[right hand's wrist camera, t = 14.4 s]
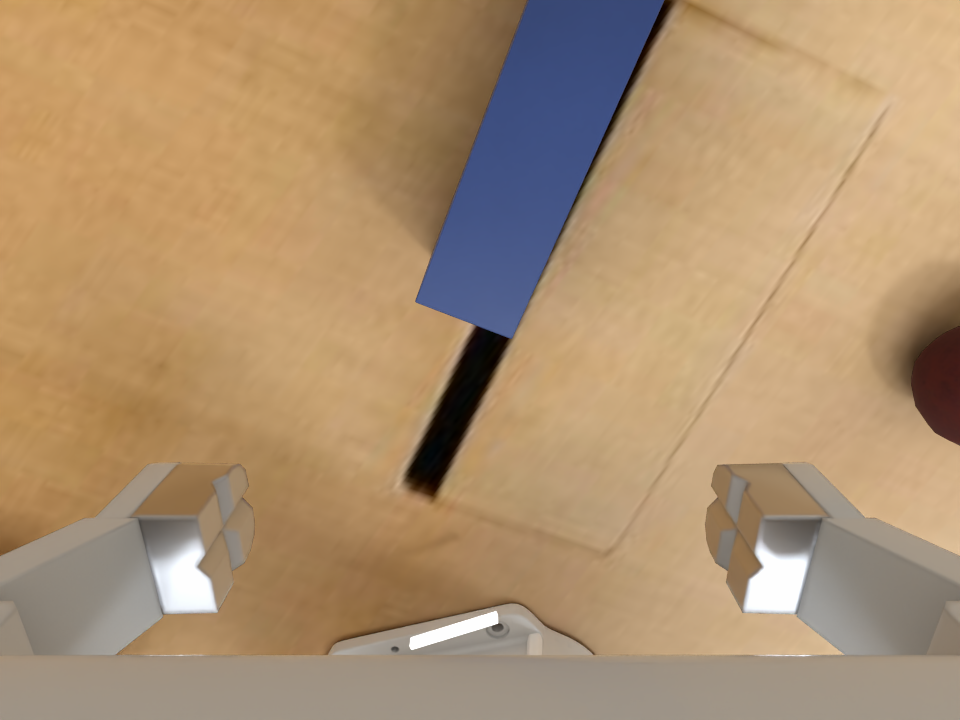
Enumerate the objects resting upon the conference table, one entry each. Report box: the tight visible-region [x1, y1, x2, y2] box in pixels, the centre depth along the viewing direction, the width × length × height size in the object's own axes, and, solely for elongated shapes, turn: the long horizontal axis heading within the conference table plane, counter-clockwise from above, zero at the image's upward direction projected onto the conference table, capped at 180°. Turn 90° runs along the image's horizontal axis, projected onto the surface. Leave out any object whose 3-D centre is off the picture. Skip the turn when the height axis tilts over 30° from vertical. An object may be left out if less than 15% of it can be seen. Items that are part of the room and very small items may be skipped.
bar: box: [415, 0, 664, 339], centre depth 25 cm, size 27×4×9 cm, turn 158°
